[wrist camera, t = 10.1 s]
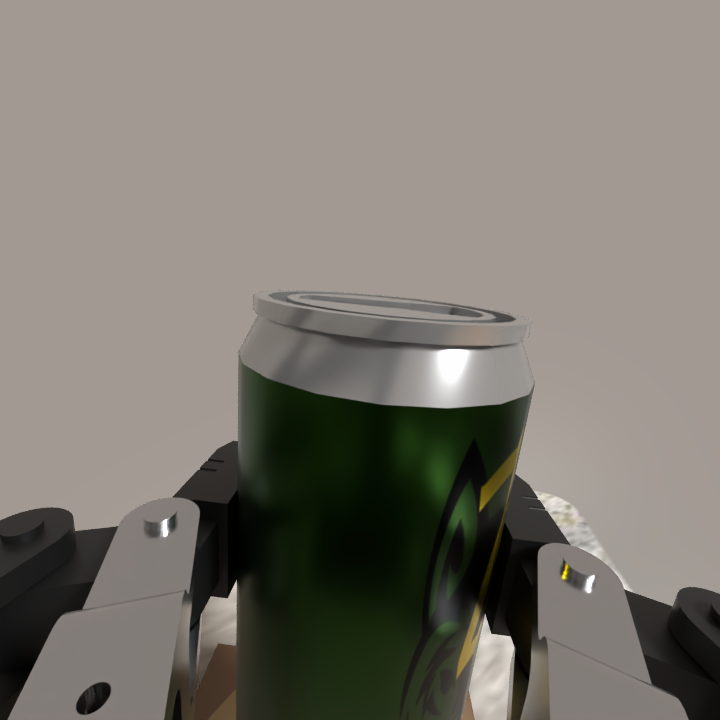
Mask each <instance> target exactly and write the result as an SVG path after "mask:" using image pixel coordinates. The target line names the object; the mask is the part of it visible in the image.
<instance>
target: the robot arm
mask: <svg viewBox="0 0 720 720" xmlns="http://www.w3.org/2000/svg"><path fill="white" fill-rule="evenodd" d="M537 498H538V497H537V496H536V494H535V493H534V491H533V490H532V489H531V487H530V486H529V485H528V484H527V483H526V482H525V481H523V480H522V479H521V478H520V477H518V476H517V475H516V474H515V477H514V482H513V486H512V491H511V496H510V500H509V505H508V509H507V514H506V519H505V523H504V528H503V532H502V537H501V542H500V546H499V551H498V556H497V560H496V565H495V569H494V574H493V579H492V583H491V588H490V593H489V597H488V602H487V606H486V611H485V614H486V617H487V620H488V624H489V627H490V630H491V634H498V635H506V636H511V638H512V641H513V644H514V651H513V655H512V659H511V664H510V679H509V693H508V708H507V720H720V594H718V593H715V592H713V591H709V590H706V589H702V588H696V587H687V588H683V589H681V590H680V591H679V592H678V594H677V597H676V599H675V602H674V605H673V607H672V606H670V605H667V604H664V603H661V602H658V601H655V600H652V599H649V598H647V597H644V596H641V595H638V594H635V593H632V592H630V591H627V590H625V589H624V587H623V585H622V582H621V581H620V579H619V578H618V576H617V575H616V574H615V573H614V571H613V570H612V569H611V568H610V567H609V566H607V565H606V564H605V563H604V562H603V561H601V560H600V559H598V558H597V557H595V556H594V555H592V554H590V553H588V552H586V551H584V550H582V549H580V548H577V547H574V546H571V545H570V544H569V542H568V541H567V539H566V538H565V536H564V535H563V533H562V532H561V530H560V529H559V528H558V526H557V525H556V523H555V522H554V520H553V519H552V517H551V516H550V515H549V513H548V512H547V511H545V507H544V506H543V504H542V503H541V502H540V500H538V499H537ZM237 502H238V441H232V442H230V443H228V444H226V445H224V446H222V447H220V448H219V449H217V450H216V451H215V453H214V454H213V455H212V456H211V457H210V458H209V459H208V461H206V462H205V463H204V464H203V465H202V466H201V467H200V470H198V471H197V472H196V473H195V474H194V475H193V476H192V477H191V478H190V479H189V480H188V481H187V482H186V483H185V484H184V485H183V486H182V488H181V489H180V490H179V491H178V492H177V493H176V494H175V495H174V496H173V497H172V498H164V499H158V500H154V501H151V502H148V503H146V504H143V505H141V506H139V507H137V508H136V509H134V510H133V511H131V512H130V513H129V514H128V515H126V516H125V517H124V519H123V520H122V521H121V523H120V524H119V526H117V527H110V528H101V529H91V530H82V531H75V528H74V520H73V516H72V514H71V513H70V512H69V511H67V510H65V509H61V508H40V509H34V510H29V511H25V512H21V513H18V514H15V515H12V516H10V517H7V518H5V519H3V520H0V720H194V711H195V699H196V688H197V677H198V665H199V654H200V643H201V631H202V612H203V610H204V608H205V606H206V604H207V602H208V600H209V598H210V597H211V596H214V597H222V598H228V596H229V594H230V592H231V590H232V588H233V586H234V584H235V582H236V580H237ZM199 720H200V719H199Z"/></svg>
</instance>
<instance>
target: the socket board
mask: <svg viewBox="0 0 720 720" xmlns="http://www.w3.org/2000/svg"><path fill="white" fill-rule="evenodd" d="M199 719H200V720H236V646H232V645H225V644H218V645H217V648H216V650H215V652H214V654H213V657H212V659H211V661H210V664H209V666H208V668H207V670H206V673H205V675H204V677H203V680H202V682H201V684H200V686H199V689H198V691H197V693H196V699H195V711H194V720H199ZM462 720H475V719H474V714H473V709H472V704H471V699H470V694H469V690H468V694H467V699H466V703H465V708H464V713H463V717H462Z"/></svg>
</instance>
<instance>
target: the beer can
mask: <svg viewBox="0 0 720 720" xmlns="http://www.w3.org/2000/svg"><path fill="white" fill-rule="evenodd" d="M253 310H254V311H255V312H256V313H257V315H258V316H257V318H256V320H255V321H254V323H253V325H252V327H251V329H250V331H249V333H248V334H247V336H246V338H245V340H244V342H243V344H242V346H241V348H240V350H239V364H238V366H239V367H238V371H239V373H238V385H239V386H238V502H237V640H236V720H462V717H463V713H464V708H465V703H466V699H467V694H468V690H469V685H470V680H471V676H472V671H473V666H474V662H475V657H476V653H477V648H478V643H479V639H480V634H481V629H482V625H483V620H484V616H485V611H486V606H487V602H488V597H489V593H490V588H491V583H492V579H493V574H494V569H495V565H496V560H497V556H498V551H499V546H500V542H501V537H502V532H503V528H504V523H505V519H506V514H507V509H508V505H509V500H510V496H511V491H512V486H513V482H514V477H515V472H516V468H517V463H518V459H519V454H520V449H521V444H522V440H523V435H524V431H525V426H526V422H527V417H528V412H529V408H530V403H531V399H532V394H533V389H534V385H535V381H534V378H533V374H532V371H531V368H530V364H529V361H528V358H527V355H526V351H525V349H524V345H523V341H525V340H526V339H527V338H528V337H529V335H530V330H531V324H532V321H531V320H529V319H527V318H525V317H523V316H519V315H514V314H511V313H506V312H502V311H497V310H491V309H485V308H480V307H473V306H467V305H460V304H453V303H446V302H438V301H429V300H421V299H412V298H403V297H392V296H382V295H370V294H358V293H344V292H343V293H342V292H327V291H303V290H301V291H300V290H299V291H298V290H296V291H294V290H291V291H290V290H279V291H262V292H258V293H255V294H253Z"/></svg>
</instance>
